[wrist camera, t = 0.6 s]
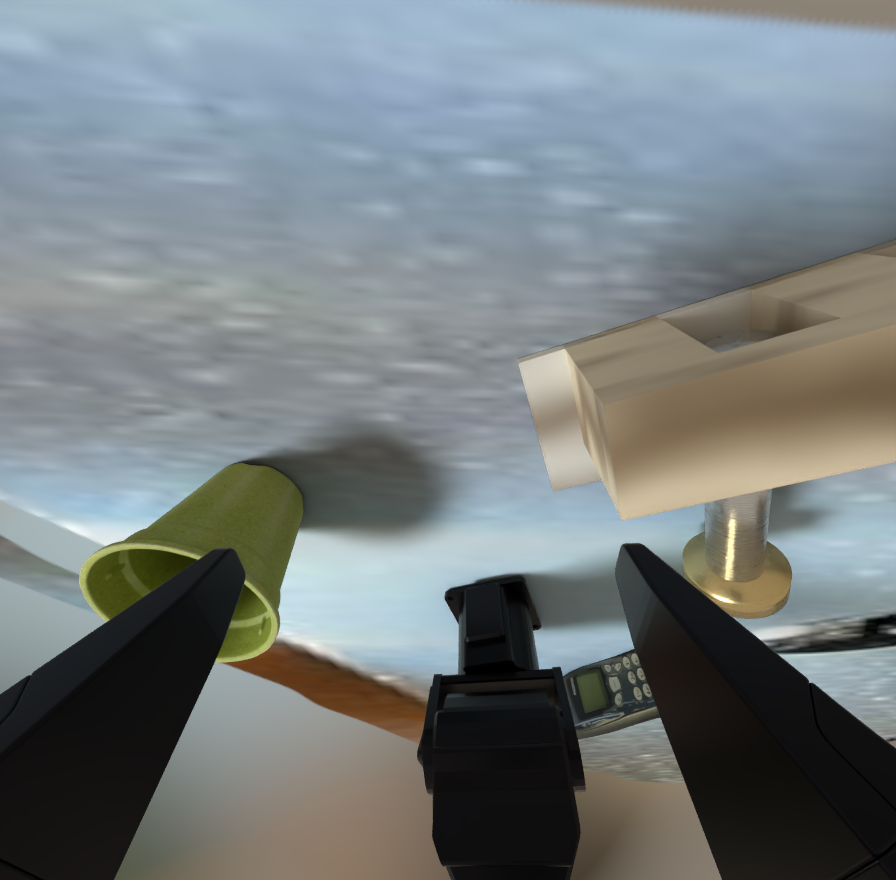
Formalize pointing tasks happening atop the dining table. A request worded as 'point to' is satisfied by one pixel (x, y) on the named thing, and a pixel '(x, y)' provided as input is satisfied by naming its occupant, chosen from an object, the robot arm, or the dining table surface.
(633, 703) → the mobile phone
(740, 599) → the door knob
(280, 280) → the dining table surface
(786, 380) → the block
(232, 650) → the plant pot
